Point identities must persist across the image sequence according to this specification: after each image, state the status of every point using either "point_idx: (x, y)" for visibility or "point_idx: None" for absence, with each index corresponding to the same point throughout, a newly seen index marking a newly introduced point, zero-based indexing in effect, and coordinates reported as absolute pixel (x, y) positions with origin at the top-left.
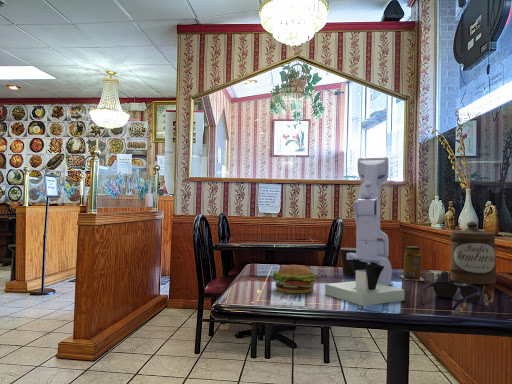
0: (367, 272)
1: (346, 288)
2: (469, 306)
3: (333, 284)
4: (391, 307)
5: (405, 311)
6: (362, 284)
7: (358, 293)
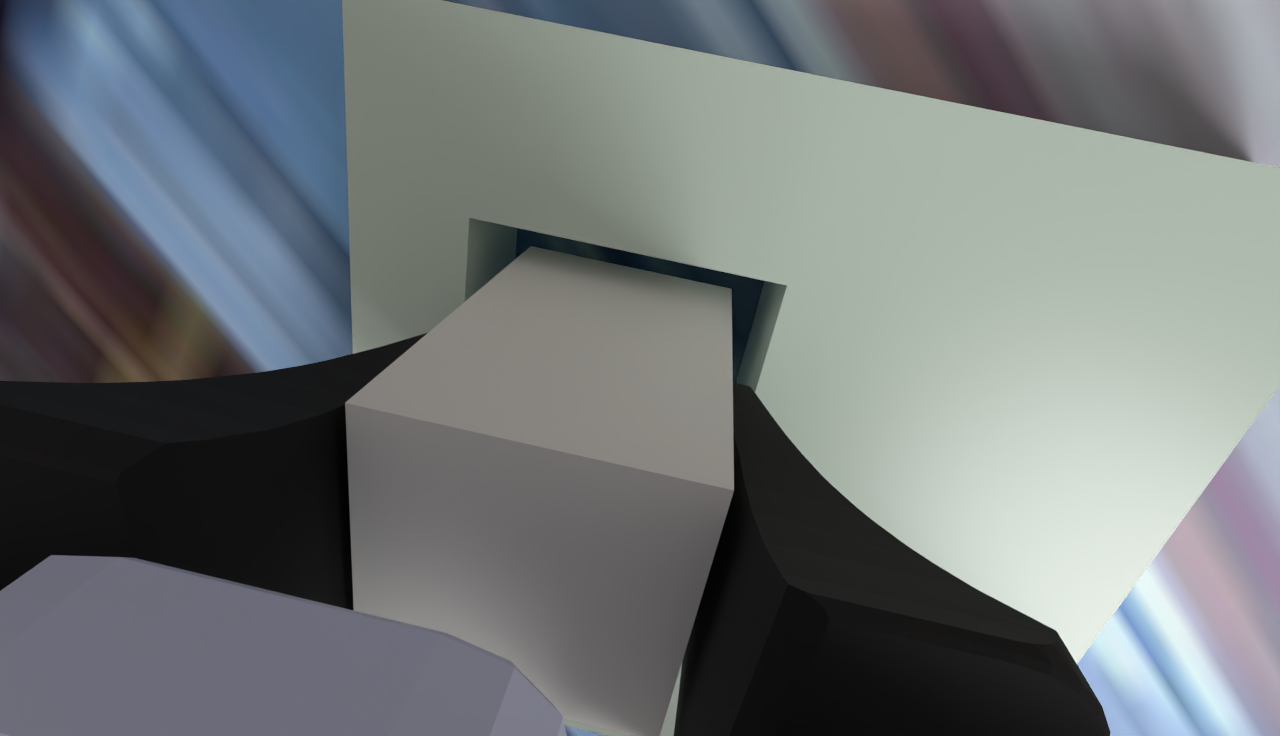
0: (296, 409)
1: (842, 189)
2: None
3: (1228, 298)
4: (252, 254)
5: (79, 221)
6: (553, 309)
7: (450, 3)
